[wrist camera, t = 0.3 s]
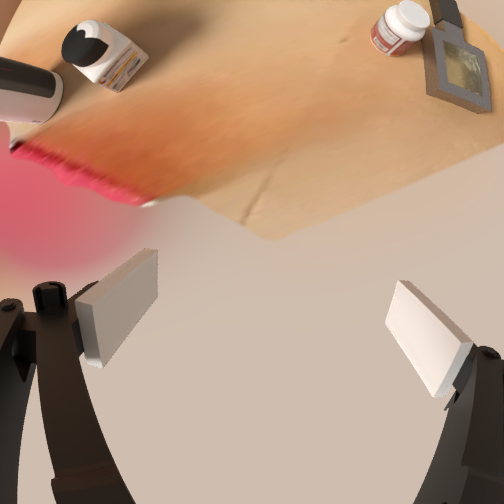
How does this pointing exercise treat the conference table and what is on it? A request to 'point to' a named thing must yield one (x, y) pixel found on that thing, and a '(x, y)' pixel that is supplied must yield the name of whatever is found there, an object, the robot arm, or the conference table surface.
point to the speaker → (28, 92)
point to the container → (103, 54)
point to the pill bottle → (399, 28)
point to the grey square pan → (454, 61)
